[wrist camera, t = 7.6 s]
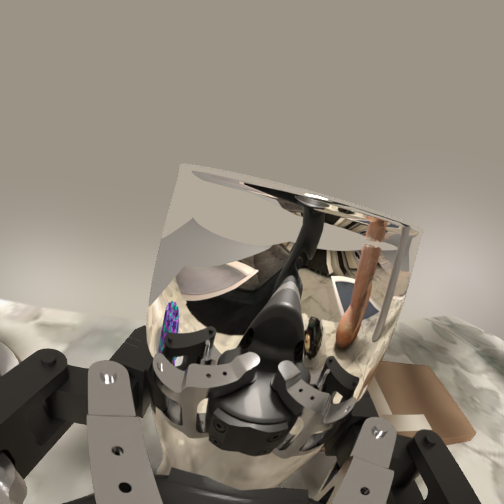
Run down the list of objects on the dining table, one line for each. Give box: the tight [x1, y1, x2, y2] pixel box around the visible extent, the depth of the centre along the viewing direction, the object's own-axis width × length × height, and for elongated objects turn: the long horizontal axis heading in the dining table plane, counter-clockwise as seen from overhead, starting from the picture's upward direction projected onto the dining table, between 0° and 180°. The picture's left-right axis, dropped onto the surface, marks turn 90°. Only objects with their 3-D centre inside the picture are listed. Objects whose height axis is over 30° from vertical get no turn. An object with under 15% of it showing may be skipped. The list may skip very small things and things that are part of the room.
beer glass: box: [145, 163, 423, 490], centre depth 9 cm, size 7×7×15 cm
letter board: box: [321, 361, 476, 451], centre depth 21 cm, size 20×12×1 cm, turn 87°
